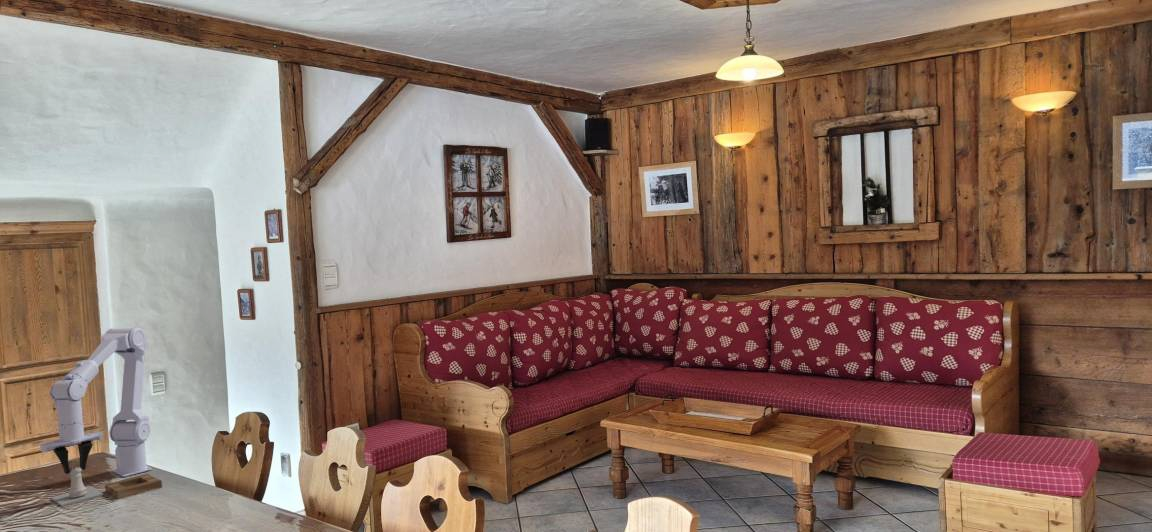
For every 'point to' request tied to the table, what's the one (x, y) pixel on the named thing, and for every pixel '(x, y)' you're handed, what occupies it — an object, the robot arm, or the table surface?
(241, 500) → the table surface
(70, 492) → the rook chess piece
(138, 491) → the square wooden frame
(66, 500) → the slate mat
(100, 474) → the table surface
